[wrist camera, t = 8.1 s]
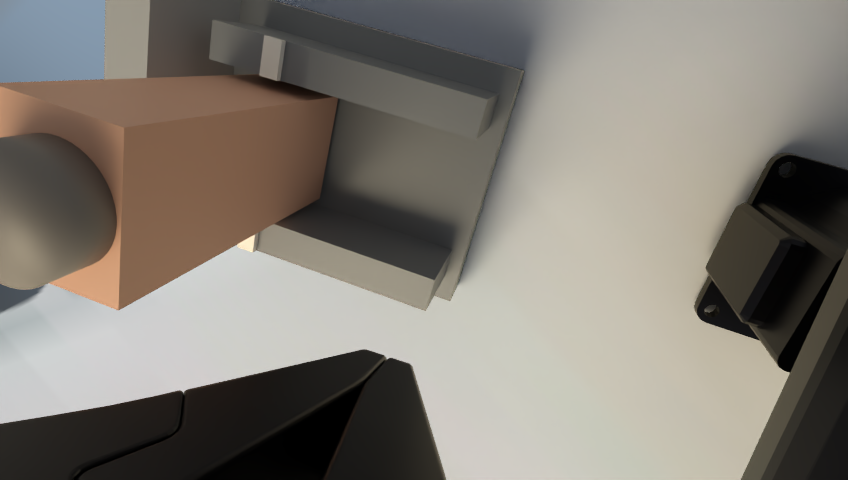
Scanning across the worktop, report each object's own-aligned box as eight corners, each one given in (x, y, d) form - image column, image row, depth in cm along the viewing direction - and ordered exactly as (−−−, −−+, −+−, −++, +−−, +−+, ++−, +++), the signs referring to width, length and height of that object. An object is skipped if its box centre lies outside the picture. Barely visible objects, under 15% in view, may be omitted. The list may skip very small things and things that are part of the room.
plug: (338, 96, 19) (67, 136, 8) (319, 198, 20) (68, 337, 10) (264, 73, 19) (-80, 85, 9) (251, 175, 21) (-57, 285, 10)
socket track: (524, 70, 19) (508, 72, 13) (456, 286, 22) (422, 360, 16) (229, -12, 20) (106, -41, 15) (208, 199, 24) (101, 241, 18)
